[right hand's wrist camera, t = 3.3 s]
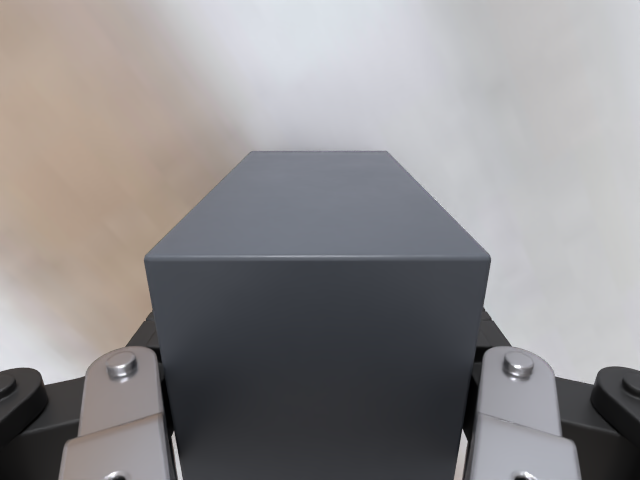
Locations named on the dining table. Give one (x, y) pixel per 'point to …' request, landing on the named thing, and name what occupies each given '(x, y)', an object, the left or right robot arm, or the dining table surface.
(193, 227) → the box
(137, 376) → the right robot arm
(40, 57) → the dining table surface
